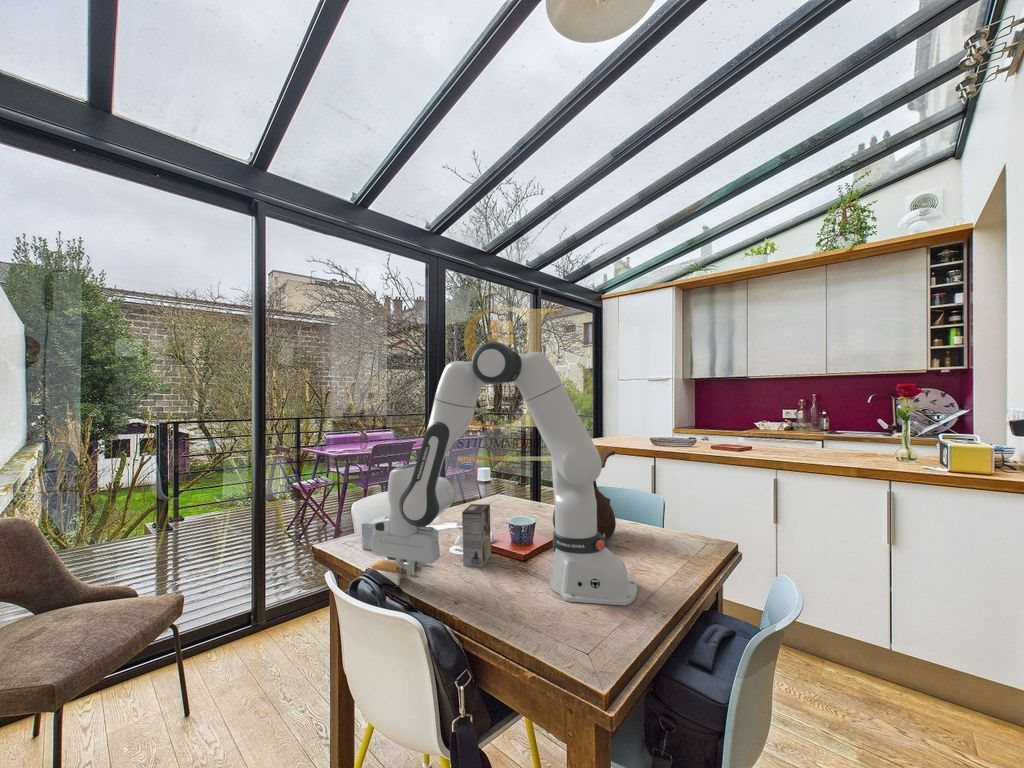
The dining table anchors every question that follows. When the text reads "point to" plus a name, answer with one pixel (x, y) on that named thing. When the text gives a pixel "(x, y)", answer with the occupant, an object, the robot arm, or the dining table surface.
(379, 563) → the tan wooden block
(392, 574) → the rack
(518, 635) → the dining table surface
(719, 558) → the dining table surface
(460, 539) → the white flat shape
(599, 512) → the jug
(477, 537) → the coffee box
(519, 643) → the dining table surface
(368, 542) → the medicine box
